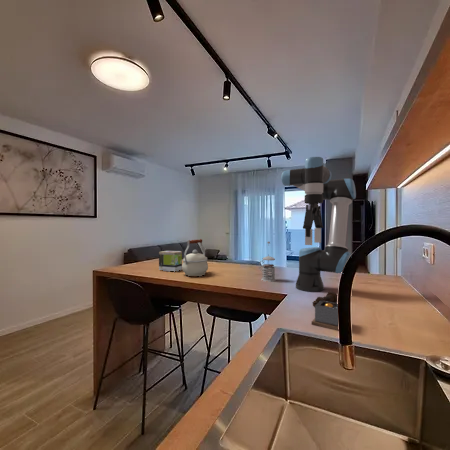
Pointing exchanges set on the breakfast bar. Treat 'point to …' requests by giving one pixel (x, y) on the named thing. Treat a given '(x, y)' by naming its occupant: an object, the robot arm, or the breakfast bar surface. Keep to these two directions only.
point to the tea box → (170, 260)
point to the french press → (268, 270)
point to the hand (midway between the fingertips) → (313, 243)
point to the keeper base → (324, 325)
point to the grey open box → (326, 313)
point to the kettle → (195, 261)
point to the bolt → (327, 298)
